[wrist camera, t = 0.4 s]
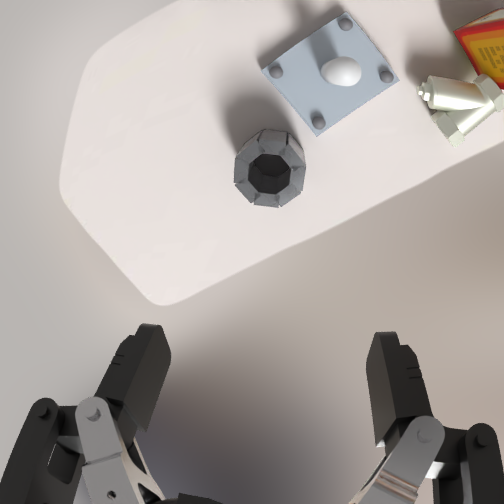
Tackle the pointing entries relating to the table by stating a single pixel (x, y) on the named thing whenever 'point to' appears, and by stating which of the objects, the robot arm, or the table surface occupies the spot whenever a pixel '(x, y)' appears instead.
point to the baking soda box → (485, 45)
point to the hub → (270, 187)
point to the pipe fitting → (461, 104)
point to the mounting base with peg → (330, 73)
